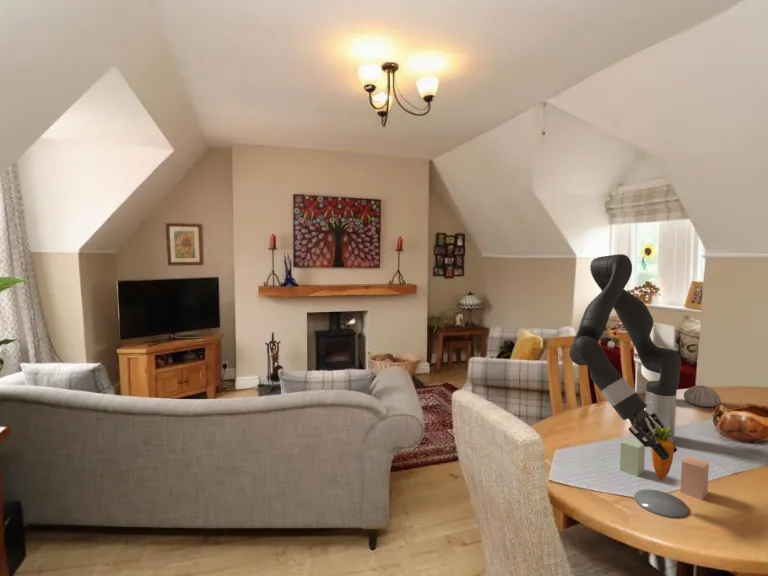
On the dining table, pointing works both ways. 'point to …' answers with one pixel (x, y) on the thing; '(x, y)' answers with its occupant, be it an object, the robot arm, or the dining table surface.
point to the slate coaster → (661, 503)
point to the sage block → (632, 457)
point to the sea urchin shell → (702, 396)
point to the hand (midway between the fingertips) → (670, 455)
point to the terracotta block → (694, 477)
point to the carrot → (664, 465)
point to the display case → (661, 338)
